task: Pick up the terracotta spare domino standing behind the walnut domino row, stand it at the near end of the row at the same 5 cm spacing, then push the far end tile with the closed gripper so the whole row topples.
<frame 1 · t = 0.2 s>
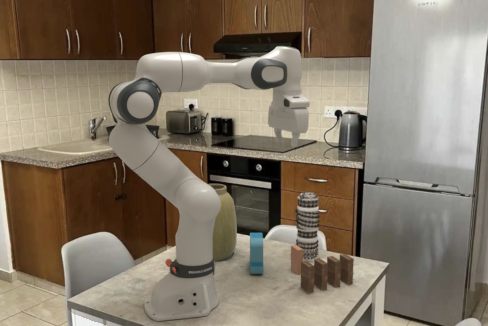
hand: (286, 144, 155), 47 cm above the table, tool pointing down, fingers open, 8 cm apart
data package: (256, 269, 177), on the table
domino 3: (320, 287, 162), on the table
decorative candle: (306, 257, 187), on the table
domino 1: (345, 281, 166), on the table
domino 2: (333, 284, 164), on the table
spare domino: (296, 271, 174), on the table
domino 4: (307, 289, 160), on the table
vase: (214, 254, 191), on the table
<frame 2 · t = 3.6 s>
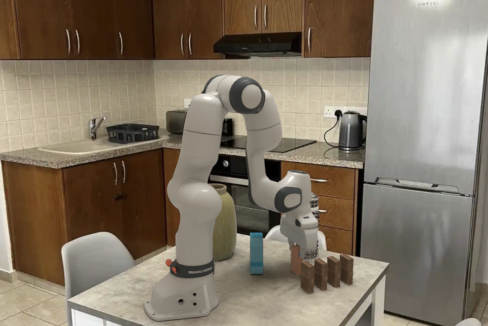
hand: (296, 253, 173), 7 cm above the table, tool pointing down, fingers closed on spare domino, 5 cm apart
spare domino: (296, 271, 174), on the table, touching gripper
everything else where it was.
when the fingers open (8 cm above the table, at t = 9.3 s): spare domino stays where it is, on the table.
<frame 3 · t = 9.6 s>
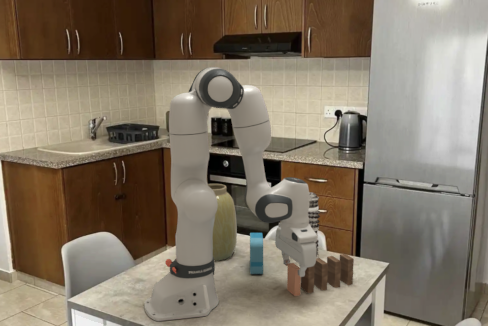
hand: (293, 270, 157), 8 cm above the table, tool pointing down, fingers open, 8 cm apart
spare domino: (293, 292, 158), on the table
everything else where it was.
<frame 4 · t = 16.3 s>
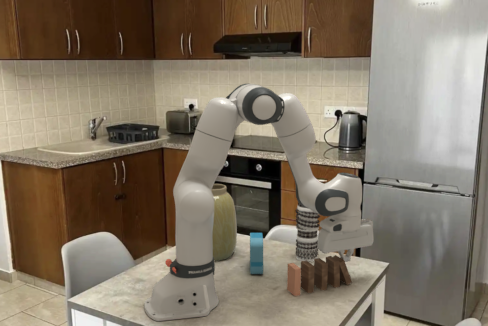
hand: (345, 261, 164), 7 cm above the table, tool pointing down, fingers closed
domino 1: (345, 280, 166), on the table, tilted 23°
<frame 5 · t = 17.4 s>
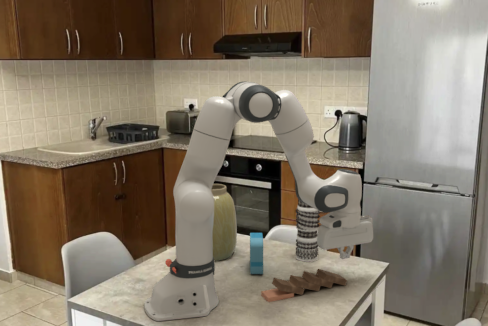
hand: (344, 257, 164), 9 cm above the table, tool pointing down, fingers closed
domino 3: (315, 285, 161), point 1 cm above the table, tilted 69°, touching domino 2
domino 1: (341, 280, 165), point 1 cm above the table, tilted 67°, touching domino 2
domino 2: (327, 282, 163), point 1 cm above the table, tilted 66°, touching domino 1, domino 3
spare domino: (290, 292, 157), on the table, tilted 90°, touching domino 4
domino 4: (299, 288, 158), point 1 cm above the table, tilted 68°, touching spare domino
everything else where it was.
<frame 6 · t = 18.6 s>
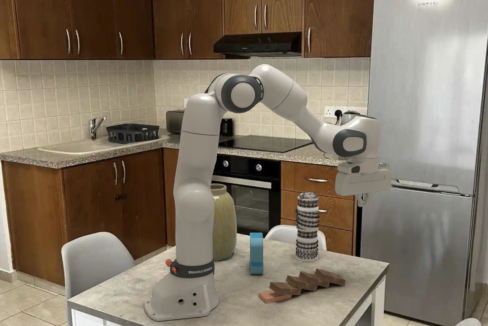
hand: (362, 205, 163), 26 cm above the table, tool pointing down, fingers closed
domino 3: (312, 285, 161), point 1 cm above the table, tilted 69°, touching domino 2, domino 4
spare domino: (287, 293, 157), on the table, tilted 90°, touching domino 4
domino 4: (295, 288, 157), point 2 cm above the table, tilted 73°, touching domino 3, spare domino
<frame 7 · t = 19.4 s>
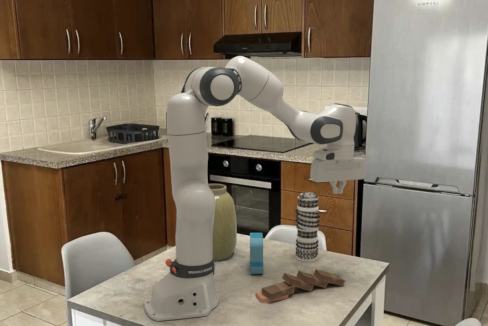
hand: (337, 193, 166), 29 cm above the table, tool pointing down, fingers closed
domino 3: (308, 285, 161), point 1 cm above the table, tilted 65°, touching domino 2, domino 4
domino 4: (289, 286, 157), point 2 cm above the table, tilted 90°, touching domino 3, spare domino
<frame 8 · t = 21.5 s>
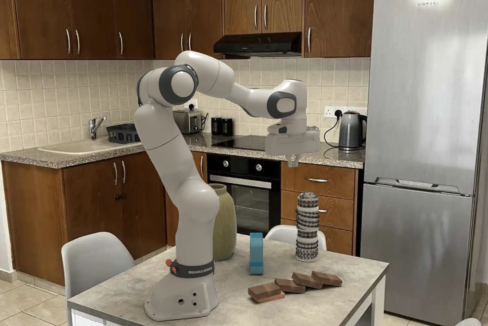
hand: (293, 166, 171), 37 cm above the table, tool pointing down, fingers closed
domino 3: (302, 287, 160), point 1 cm above the table, tilted 79°, touching domino 2, domino 4
domino 2: (318, 283, 163), point 1 cm above the table, tilted 70°, touching domino 1, domino 3
spare domino: (281, 293, 157), on the table, tilted 90°, touching domino 4
domino 4: (276, 287, 156), point 2 cm above the table, tilted 90°, touching domino 3, spare domino
at the end: spare domino tilted 90°; domino 4 tilted 90°; spare domino inside the target area (3.2 cm from its centre), on the table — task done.
